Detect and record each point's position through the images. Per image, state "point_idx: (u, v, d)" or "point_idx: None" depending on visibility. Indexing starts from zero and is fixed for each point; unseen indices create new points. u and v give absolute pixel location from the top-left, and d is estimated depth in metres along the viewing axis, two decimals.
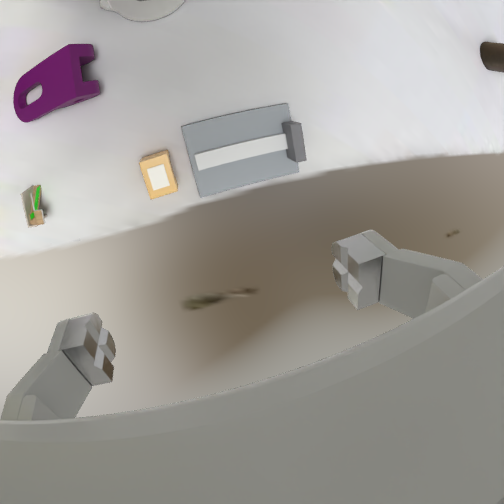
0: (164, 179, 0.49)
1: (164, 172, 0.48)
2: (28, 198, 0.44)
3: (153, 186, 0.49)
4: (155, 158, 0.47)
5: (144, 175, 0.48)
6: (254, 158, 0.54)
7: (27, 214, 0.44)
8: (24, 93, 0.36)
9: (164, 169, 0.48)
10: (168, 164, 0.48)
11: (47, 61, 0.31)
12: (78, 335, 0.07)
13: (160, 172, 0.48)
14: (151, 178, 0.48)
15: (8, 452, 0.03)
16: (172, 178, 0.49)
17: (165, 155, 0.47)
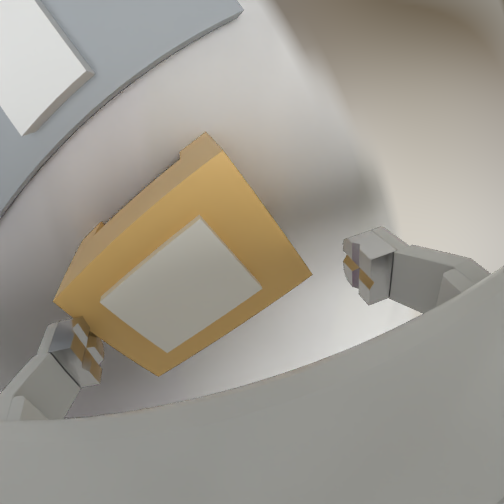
0: (177, 264, 0.08)
1: (137, 279, 0.08)
2: None
3: (239, 297, 0.09)
4: (102, 334, 0.09)
5: (201, 343, 0.10)
6: None
7: None
8: None
9: (123, 284, 0.08)
10: (90, 272, 0.08)
11: None
12: (66, 338, 0.07)
13: (148, 297, 0.08)
14: (200, 321, 0.09)
15: (8, 452, 0.03)
16: (152, 217, 0.08)
17: (62, 303, 0.08)
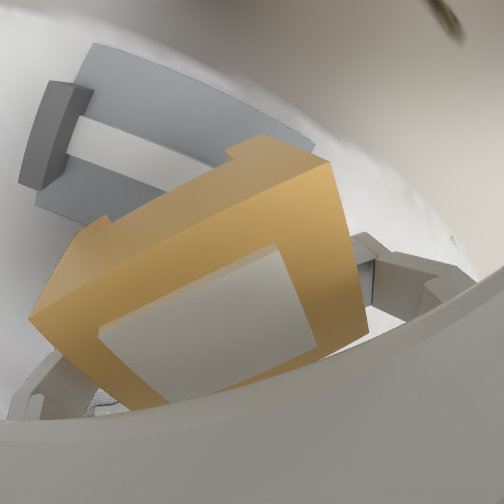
0: (226, 306, 0.06)
1: (162, 317, 0.05)
2: None
3: (288, 354, 0.07)
4: (90, 372, 0.06)
5: None
6: (160, 133, 0.20)
7: None
8: None
9: (138, 319, 0.05)
10: (90, 293, 0.05)
11: None
12: None
13: (171, 342, 0.06)
14: (231, 377, 0.07)
15: (8, 452, 0.03)
16: (206, 232, 0.05)
17: (41, 324, 0.05)
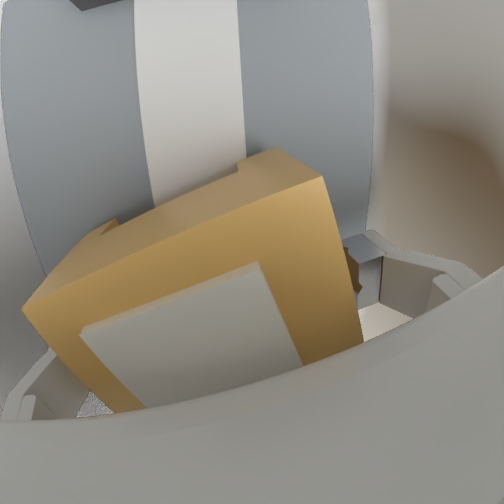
0: (204, 322, 0.05)
1: (139, 325, 0.05)
2: None
3: None
4: (76, 369, 0.06)
5: None
6: None
7: None
8: None
9: (117, 323, 0.05)
10: (75, 292, 0.05)
11: None
12: None
13: (149, 351, 0.06)
14: None
15: (8, 452, 0.03)
16: (186, 244, 0.05)
17: (32, 316, 0.05)
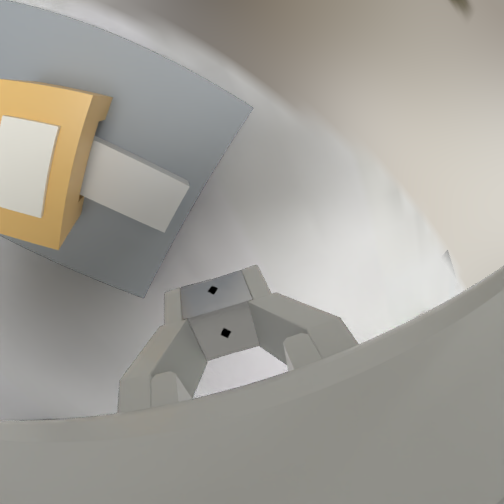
0: (6, 148, 0.08)
1: None
2: None
3: (49, 142, 0.09)
4: (8, 231, 0.10)
5: (60, 198, 0.11)
6: None
7: None
8: None
9: None
10: None
11: None
12: (204, 301, 0.08)
13: (6, 180, 0.09)
14: (40, 176, 0.10)
15: (8, 452, 0.03)
16: None
17: None
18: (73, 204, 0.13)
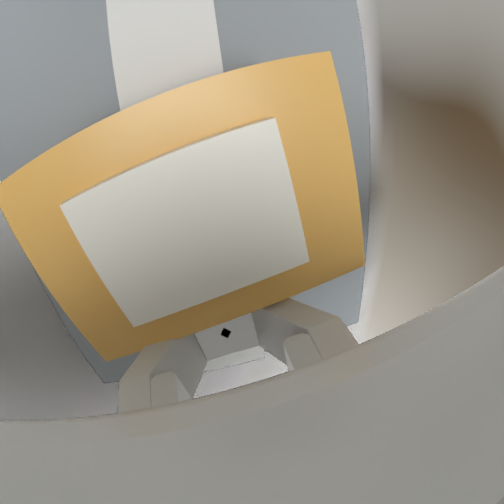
0: (211, 177, 0.05)
1: (136, 182, 0.05)
2: None
3: (275, 265, 0.06)
4: (44, 269, 0.05)
5: (186, 327, 0.07)
6: None
7: None
8: None
9: (109, 185, 0.05)
10: (65, 153, 0.04)
11: None
12: None
13: (140, 220, 0.05)
14: (205, 288, 0.06)
15: (8, 452, 0.03)
16: (202, 92, 0.04)
17: (4, 196, 0.04)
18: None
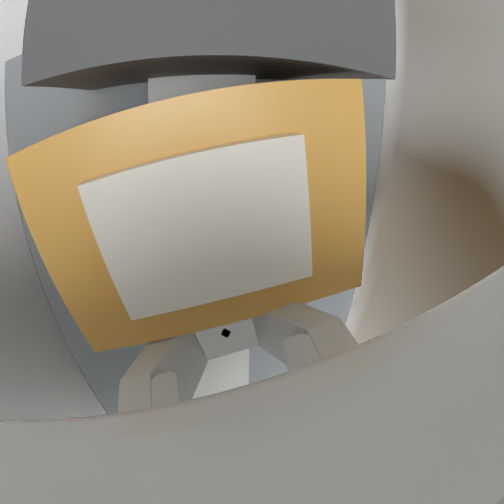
0: (234, 181, 0.05)
1: (161, 175, 0.05)
2: None
3: (280, 275, 0.06)
4: (47, 249, 0.05)
5: (182, 326, 0.07)
6: None
7: None
8: None
9: (132, 173, 0.05)
10: (91, 133, 0.04)
11: None
12: None
13: (158, 214, 0.05)
14: (209, 289, 0.06)
15: (8, 452, 0.03)
16: (238, 98, 0.05)
17: (17, 167, 0.04)
18: None
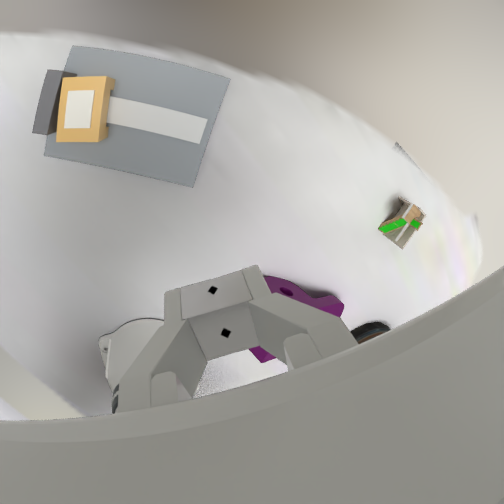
0: (72, 103, 0.23)
1: (67, 114, 0.23)
2: (399, 234, 0.44)
3: (91, 96, 0.23)
4: (73, 140, 0.25)
5: (98, 118, 0.25)
6: (122, 92, 0.28)
7: None
8: None
9: (66, 118, 0.24)
10: (59, 124, 0.24)
11: None
12: (204, 301, 0.08)
13: (72, 116, 0.24)
14: (88, 110, 0.24)
15: (8, 452, 0.03)
16: (61, 100, 0.23)
17: (58, 140, 0.24)
18: (103, 125, 0.27)
